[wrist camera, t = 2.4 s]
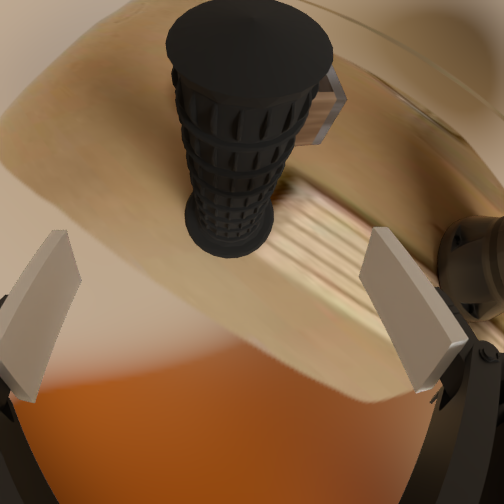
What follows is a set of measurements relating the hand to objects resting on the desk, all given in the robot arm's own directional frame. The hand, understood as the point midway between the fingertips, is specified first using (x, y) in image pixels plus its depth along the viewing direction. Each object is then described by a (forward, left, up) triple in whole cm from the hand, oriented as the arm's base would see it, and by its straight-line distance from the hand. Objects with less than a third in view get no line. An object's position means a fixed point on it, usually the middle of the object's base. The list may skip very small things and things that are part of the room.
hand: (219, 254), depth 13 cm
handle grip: (+8, -3, -22) cm, 23 cm away
